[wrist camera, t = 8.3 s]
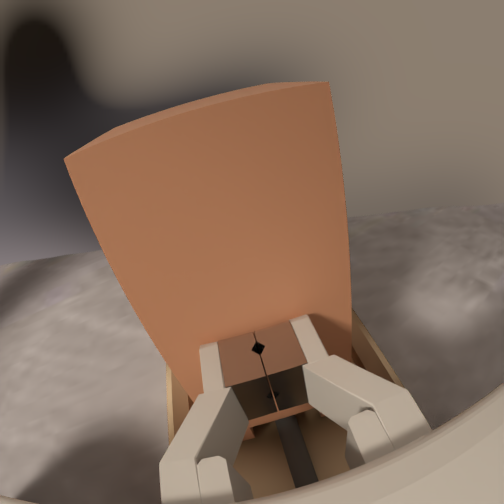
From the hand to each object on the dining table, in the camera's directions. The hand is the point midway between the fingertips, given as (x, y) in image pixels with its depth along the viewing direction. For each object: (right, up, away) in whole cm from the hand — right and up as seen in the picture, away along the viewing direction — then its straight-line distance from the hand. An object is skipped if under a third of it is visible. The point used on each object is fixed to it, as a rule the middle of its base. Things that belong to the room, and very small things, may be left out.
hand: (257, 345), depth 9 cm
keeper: (+1, -4, +5) cm, 6 cm away
